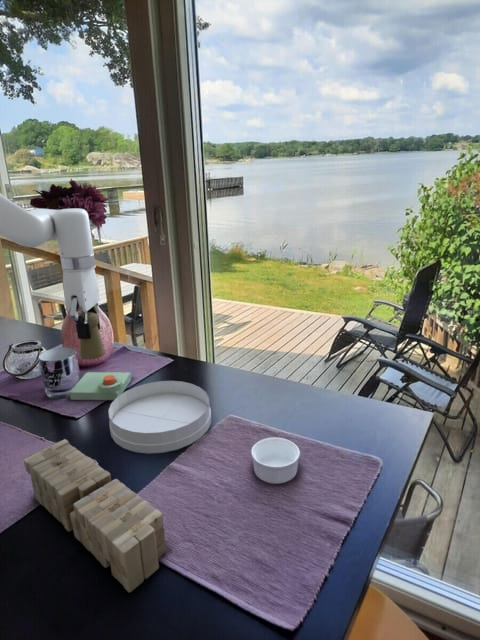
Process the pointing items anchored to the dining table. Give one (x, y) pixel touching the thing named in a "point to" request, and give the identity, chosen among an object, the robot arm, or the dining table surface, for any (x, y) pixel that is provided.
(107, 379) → the button
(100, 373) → the scale
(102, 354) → the brown rounded upright piece
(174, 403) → the dish
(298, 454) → the ramekin
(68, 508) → the block tower
